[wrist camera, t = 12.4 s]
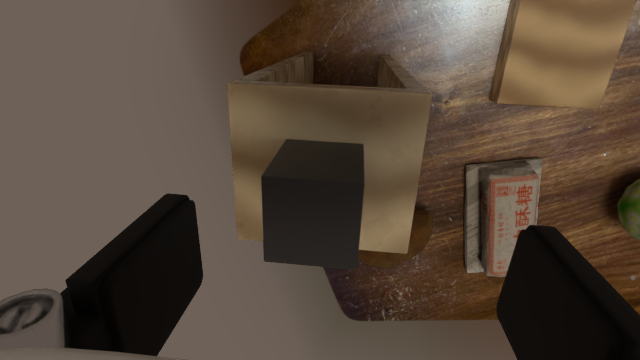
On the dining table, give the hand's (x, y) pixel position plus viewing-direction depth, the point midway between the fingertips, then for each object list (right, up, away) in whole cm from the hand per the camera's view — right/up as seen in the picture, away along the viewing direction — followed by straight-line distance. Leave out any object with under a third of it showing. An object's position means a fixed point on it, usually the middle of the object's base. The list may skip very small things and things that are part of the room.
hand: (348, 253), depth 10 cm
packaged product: (+26, -3, +43) cm, 50 cm away
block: (-1, +2, +10) cm, 11 cm away
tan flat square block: (+28, +18, +33) cm, 47 cm away
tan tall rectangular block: (+3, +14, +38) cm, 40 cm away
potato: (+10, -5, +45) cm, 47 cm away
